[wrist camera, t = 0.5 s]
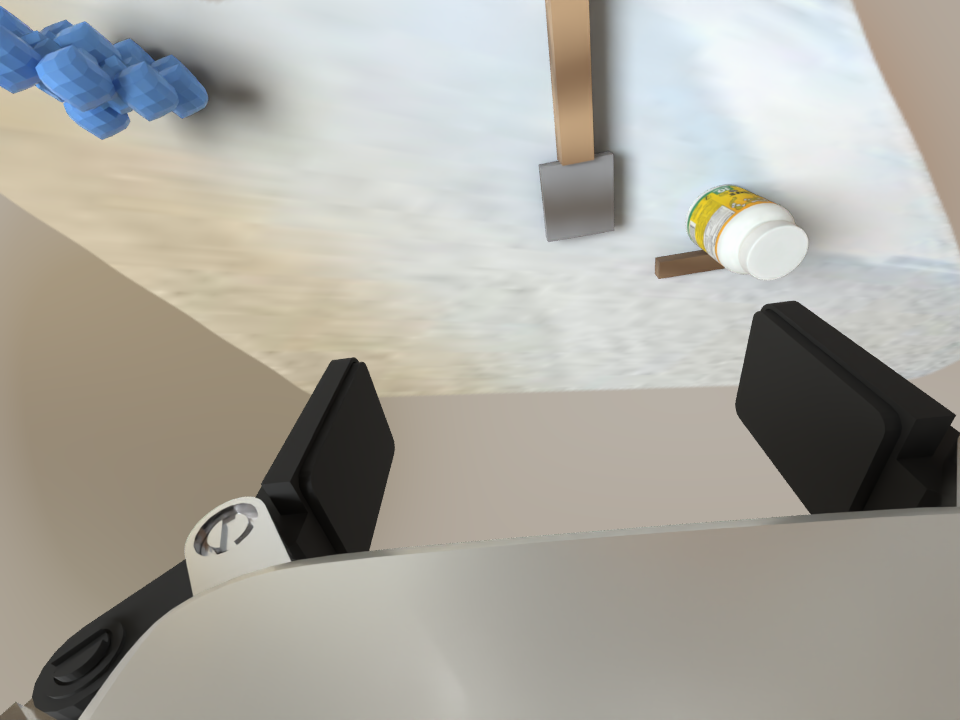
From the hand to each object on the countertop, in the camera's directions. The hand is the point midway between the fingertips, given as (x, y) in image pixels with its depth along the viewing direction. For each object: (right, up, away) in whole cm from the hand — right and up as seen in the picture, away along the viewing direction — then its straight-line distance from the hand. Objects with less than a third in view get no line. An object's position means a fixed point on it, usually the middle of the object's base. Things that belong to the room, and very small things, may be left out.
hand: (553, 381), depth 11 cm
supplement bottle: (+19, +13, +27) cm, 36 cm away
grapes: (-27, +22, +22) cm, 41 cm away
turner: (+5, +19, +23) cm, 31 cm away
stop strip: (+19, +10, +29) cm, 36 cm away
